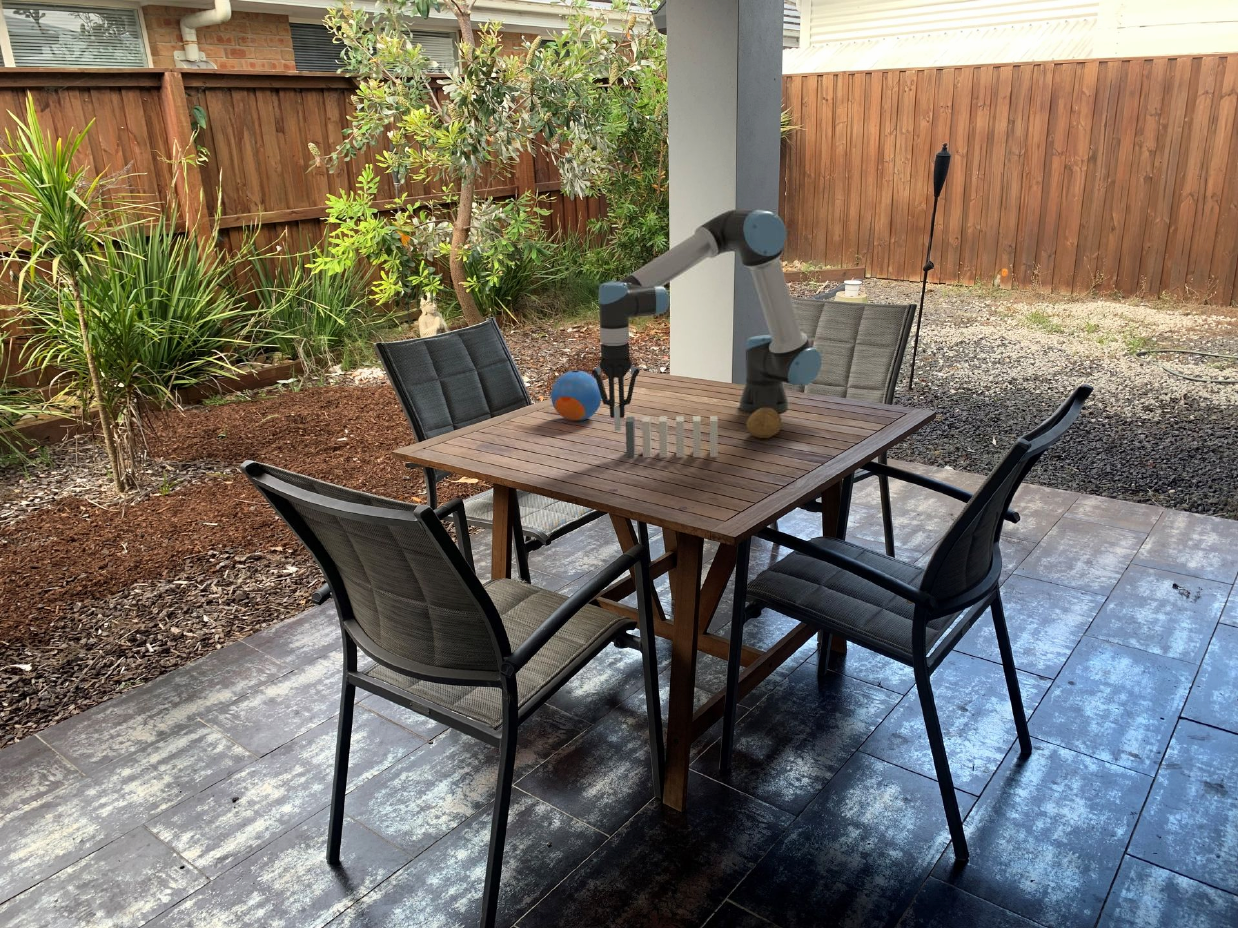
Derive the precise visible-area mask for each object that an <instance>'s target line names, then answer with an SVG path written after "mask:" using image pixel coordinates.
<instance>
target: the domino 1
mask: <svg viewBox="0 0 1238 928" xmlns="http://www.w3.org/2000/svg"><path fill="white" fill-rule="evenodd" d="M635 421H636V420H635V416H626V419H625V446H626V448H625V451H626V458H627V457H630V458H635V456H636V430H635V429H636V428H635V427H636V426H635Z"/></svg>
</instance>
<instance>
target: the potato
mask: <svg viewBox="0 0 1238 928" xmlns="http://www.w3.org/2000/svg"><path fill="white" fill-rule="evenodd" d="M745 424H746V428H747V430H748V432H749V433H750V434H751V435H753V437H756V438H759V439H770V438H771V437H773V436H775V435H776V434H778V433H779V431H780V429H781V427H782V416H780V413H777V412H776V411H775V410H774V409H772V408H760V409H758V410H756V411H755V412H754V413H751V415H750V416H749V417H748V418H747V421H746V423H745Z"/></svg>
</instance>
